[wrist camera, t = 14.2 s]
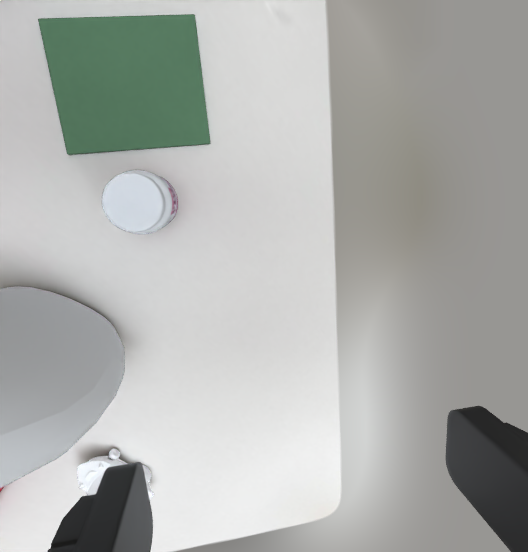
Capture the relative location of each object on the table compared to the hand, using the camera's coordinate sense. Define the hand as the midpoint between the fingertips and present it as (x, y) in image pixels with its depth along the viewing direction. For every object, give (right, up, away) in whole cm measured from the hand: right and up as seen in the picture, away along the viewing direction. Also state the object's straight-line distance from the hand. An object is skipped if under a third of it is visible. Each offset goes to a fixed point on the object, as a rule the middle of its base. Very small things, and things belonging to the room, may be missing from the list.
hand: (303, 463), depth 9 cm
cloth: (-12, +21, +20) cm, 31 cm away
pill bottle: (-11, +12, +23) cm, 28 cm away
